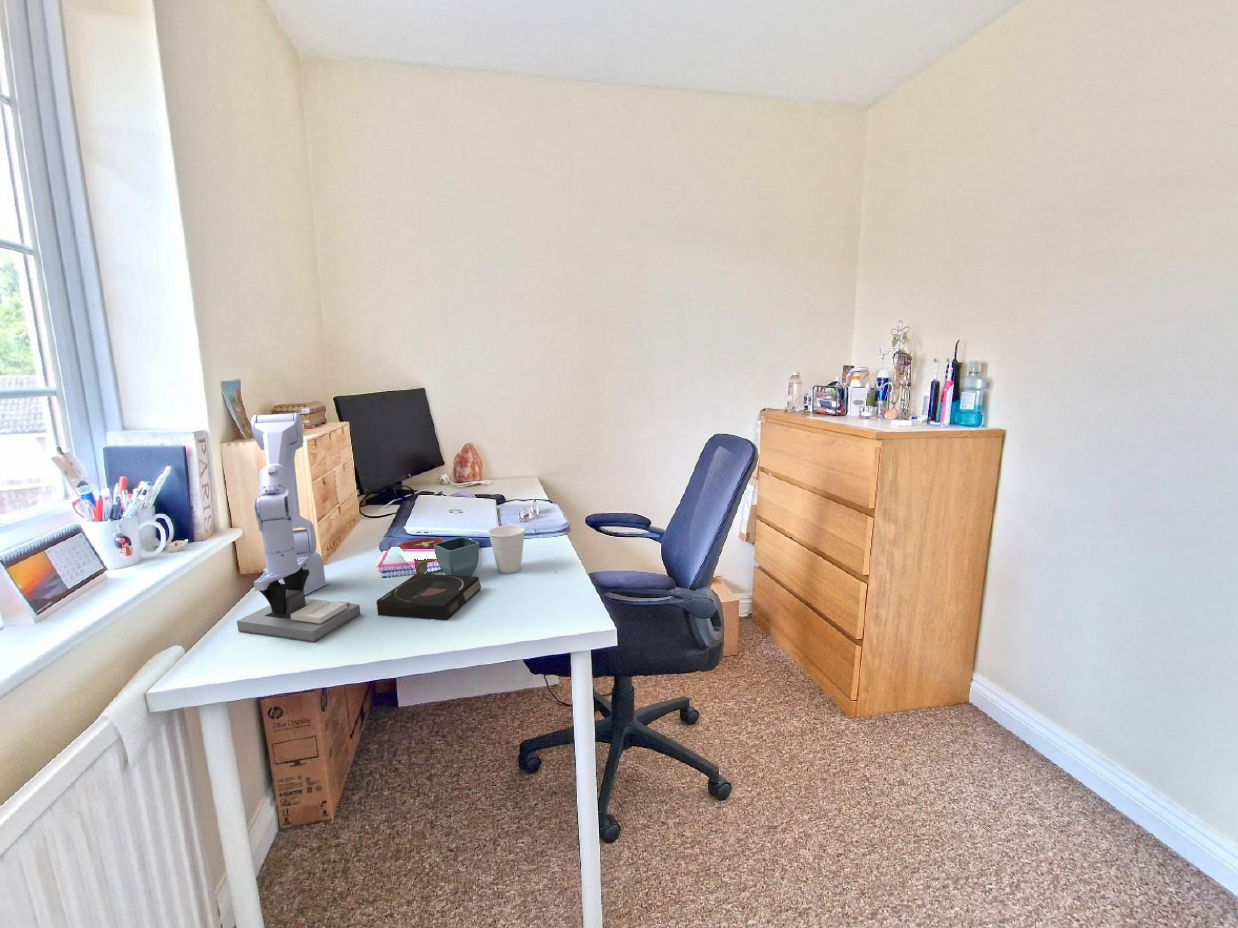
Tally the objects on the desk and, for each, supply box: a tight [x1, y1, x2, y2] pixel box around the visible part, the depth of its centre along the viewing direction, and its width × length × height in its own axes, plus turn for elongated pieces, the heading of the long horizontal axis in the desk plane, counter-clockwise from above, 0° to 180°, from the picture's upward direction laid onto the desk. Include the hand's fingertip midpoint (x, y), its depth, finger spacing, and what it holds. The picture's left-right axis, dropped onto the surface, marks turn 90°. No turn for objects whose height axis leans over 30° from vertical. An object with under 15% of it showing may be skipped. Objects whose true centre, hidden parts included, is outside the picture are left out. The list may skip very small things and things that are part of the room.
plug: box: [271, 590, 306, 618], centre depth 121 cm, size 5×5×5 cm
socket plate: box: [236, 597, 362, 643], centre depth 121 cm, size 13×20×3 cm, turn 74°
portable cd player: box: [376, 573, 482, 621], centre depth 130 cm, size 16×17×4 cm
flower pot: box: [434, 536, 480, 576], centre depth 145 cm, size 9×9×9 cm
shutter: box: [291, 599, 347, 623], centre depth 119 cm, size 8×8×2 cm
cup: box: [487, 524, 527, 574], centre depth 148 cm, size 10×10×11 cm
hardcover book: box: [397, 537, 446, 574], centre depth 158 cm, size 12×21×4 cm, turn 34°
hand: (288, 608), depth 121 cm, fingers closed on plug, 5 cm apart
